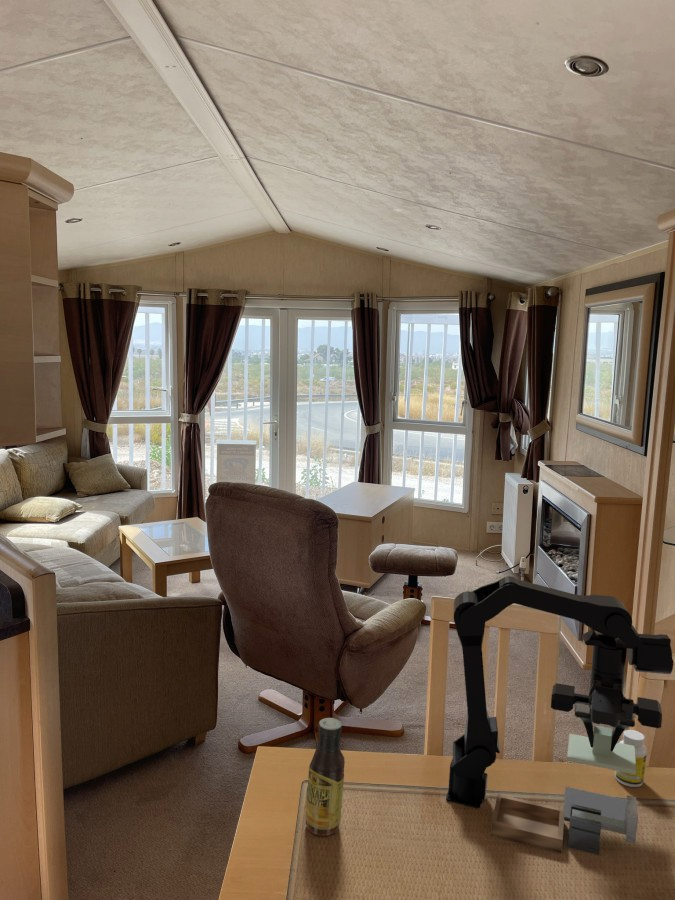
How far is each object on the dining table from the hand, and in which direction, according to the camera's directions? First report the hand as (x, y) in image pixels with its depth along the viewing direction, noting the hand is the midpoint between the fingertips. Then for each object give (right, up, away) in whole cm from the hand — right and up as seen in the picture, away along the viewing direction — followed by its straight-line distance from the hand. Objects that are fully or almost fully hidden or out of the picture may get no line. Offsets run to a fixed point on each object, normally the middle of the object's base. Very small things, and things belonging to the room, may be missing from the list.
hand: (601, 748), depth 135 cm
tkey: (-3, -10, -8) cm, 13 cm away
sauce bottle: (-51, -12, -5) cm, 53 cm away
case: (-15, -13, -4) cm, 20 cm away
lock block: (-6, -14, -7) cm, 16 cm away
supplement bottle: (+10, -12, +13) cm, 20 cm away
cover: (0, -1, 0) cm, 1 cm away
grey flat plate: (0, -13, +3) cm, 13 cm away
